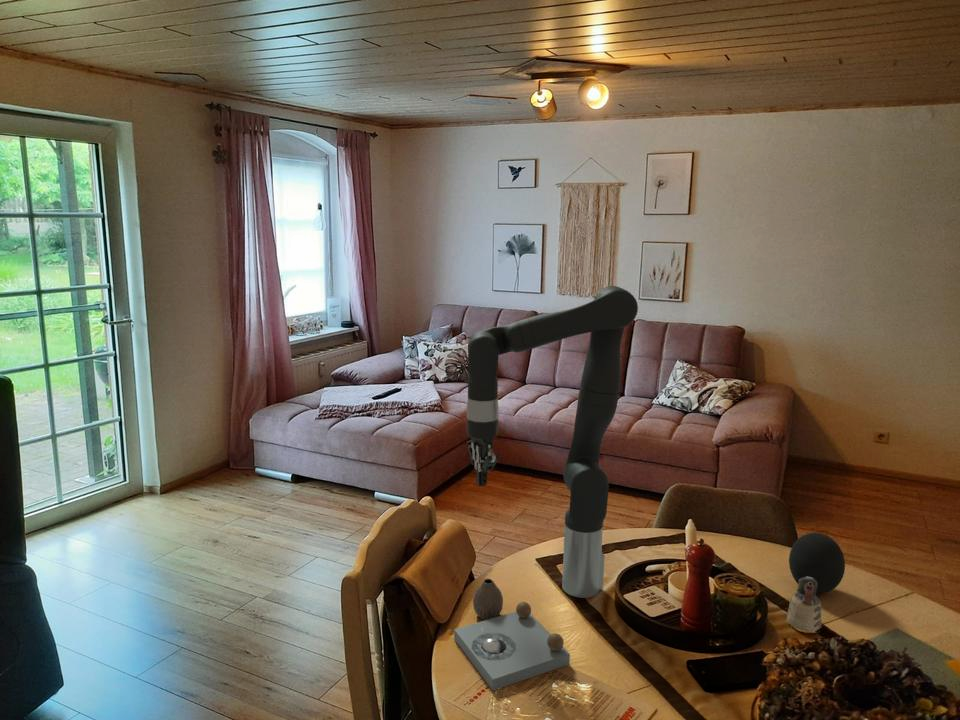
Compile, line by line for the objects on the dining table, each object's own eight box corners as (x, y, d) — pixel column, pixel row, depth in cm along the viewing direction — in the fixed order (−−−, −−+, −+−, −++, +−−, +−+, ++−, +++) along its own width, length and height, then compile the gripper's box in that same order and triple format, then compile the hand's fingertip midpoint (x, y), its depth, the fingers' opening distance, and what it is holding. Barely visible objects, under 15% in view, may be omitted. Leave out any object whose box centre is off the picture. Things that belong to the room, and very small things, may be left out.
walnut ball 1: (526, 610, 154) (526, 597, 153) (533, 618, 151) (534, 605, 150) (513, 614, 152) (513, 601, 152) (520, 622, 149) (521, 608, 149)
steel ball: (481, 634, 142) (477, 651, 143) (487, 645, 139) (483, 663, 139) (498, 633, 144) (495, 650, 144) (505, 644, 140) (501, 662, 141)
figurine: (821, 621, 155) (827, 574, 153) (820, 638, 149) (826, 589, 147) (787, 613, 159) (793, 566, 156) (785, 628, 153) (790, 580, 150)
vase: (499, 626, 152) (500, 591, 151) (470, 622, 154) (470, 587, 152) (504, 609, 159) (505, 575, 157) (476, 605, 160) (476, 571, 158)
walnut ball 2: (557, 642, 143) (558, 628, 142) (566, 651, 140) (567, 637, 139) (543, 647, 141) (544, 632, 140) (552, 656, 138) (553, 641, 137)
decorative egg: (794, 601, 163) (801, 544, 160) (780, 575, 175) (786, 521, 172) (848, 606, 162) (856, 549, 158) (830, 579, 173) (838, 525, 170)
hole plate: (525, 618, 155) (525, 608, 155) (569, 664, 140) (569, 653, 139) (454, 639, 147) (454, 629, 147) (492, 690, 132) (492, 679, 131)
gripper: (510, 421, 155) (508, 492, 159) (483, 406, 167) (483, 472, 170) (480, 425, 152) (480, 497, 156) (456, 410, 163) (456, 477, 167)
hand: (481, 484), depth 163 cm, fingers closed
